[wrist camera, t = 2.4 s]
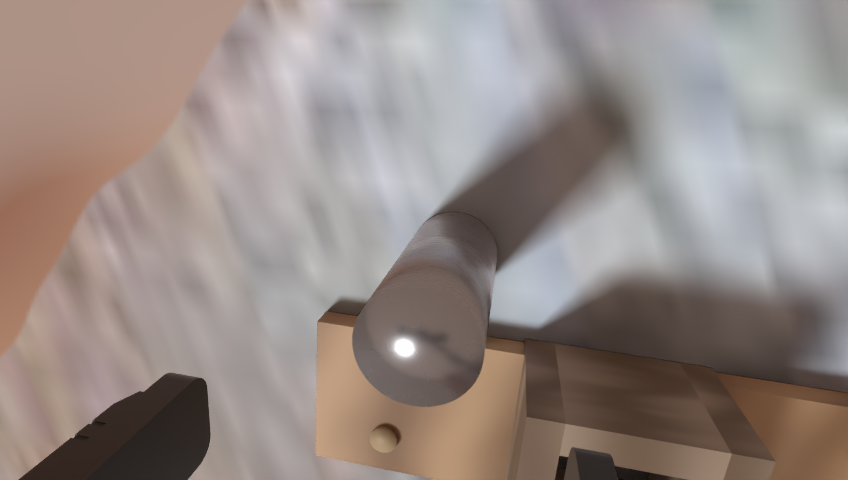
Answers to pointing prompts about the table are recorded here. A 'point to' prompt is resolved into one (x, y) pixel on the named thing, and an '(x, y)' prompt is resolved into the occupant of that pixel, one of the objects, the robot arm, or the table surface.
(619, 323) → the table surface
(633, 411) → the hinge
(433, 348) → the hinge pin
